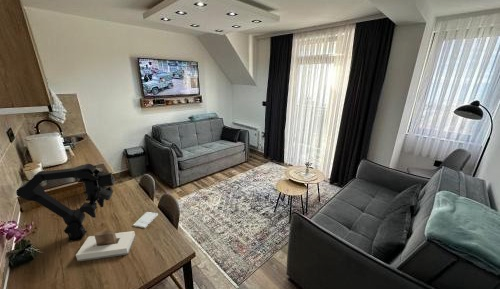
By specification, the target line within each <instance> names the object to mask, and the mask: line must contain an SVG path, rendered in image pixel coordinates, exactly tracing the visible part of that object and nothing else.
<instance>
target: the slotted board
mask: <svg viewBox="0 0 500 289" xmlns="http://www.w3.org/2000/svg"><path fill="white" fill-rule="evenodd" d="M115 235H116V239H117V244H111V245H103V246H97V243H96V239H95V235H91V236H89V235H88V237H87V238H86V239H85V241H84V243H83V244H82V245H81V247H80V249H79V250H78V251H77V252H76V254H75V257H76V260H77V262H84V261H91V260H97V259H104V258H105V259H106V258H111V257H118V256H119V257H120V256H126V255H129V252H130V250H131V248H132V245H133V243H134V240H135V238H136V234H135V231H134V230H132V231H131V230H130V231H123V232H115Z"/></svg>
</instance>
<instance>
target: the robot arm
mask: <svg viewBox="0 0 500 289" xmlns="http://www.w3.org/2000/svg"><path fill="white" fill-rule="evenodd" d="M96 168H97V167H95V165H94V164H92V163H86V164H80V165H78V166H76V167H72V168H63V169H54V170H53V169H52V170H39V171H37V173H35V174H34V175H33V177H32V178H31V179H30V180H29V181H26V182H24V183H23V184H22V185H21V186H20V187H19V188H17V190H16V192H15V193H16V196H17V197H19V198H21V199H24V200H25V201H31V202H36V203H38V204H39V205H41V206H43V207H44V208H46V209H47V210H49V211H51V213H52V212H53V213H54V214H56V215H57V216H59V217H60V218H61V219H62V220H63V222H64V224H65V225H66V226H65V228H64V230H63V232H64V233H65V234H66V235H67V236H68V238H67V242H75V241H81V240H82V239H83V237H85V235H86V233H87V232H88V230H86V229H85V226H84V224H83V222H84V221H85V219H86V214H87V215H88V216H90V217H91V218H93V219H95V218H96V217H97V216H96V214H97V213H96V209H97V208H98V206H97V204H98V205H99V207H100V208H104V205H105V204H104V203H105V201H110V199H111V198H112V196H113V193H114V190H113V188H112V186H114V185H115V182H116V180H115V176H114V174H113V173H112V172H107V173H104V174H101V173H102V172H100V171H99V170H98V169H96ZM94 173H95V175H93V174H94ZM71 178H72V179H73V178H74V179H78V180H77V184H80V183H82V184H83V186H84V192H83V194H84V195H86V198H85V201H89V202H84V203H83V204H82V205H81V206H80V207H79V208H76V209H71V208H70V207H68V206H67V205H66V204H63V203H62V202H60V201H58V200H57V199H55V198H54V197H53V196H51V195H49V194H48V193H46V191H45V189H44V187H43V185H41V184H42V183H43V182H44V181H51V180H52V181H53V180H62V179H71ZM98 185H99V186H98ZM100 186H101V187H103V186H107V187H108V188H101V187H100ZM85 213H86V214H85Z"/></svg>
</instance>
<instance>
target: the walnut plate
mask: <svg viewBox="0 0 500 289" xmlns="http://www.w3.org/2000/svg"><path fill="white" fill-rule="evenodd" d="M115 233H116V232H115V230H114V229H113V230H104V231H96V232H95V234H94V236H95V239H96V243H97V246H103V245H111V244H117V239H116V235H115Z"/></svg>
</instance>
